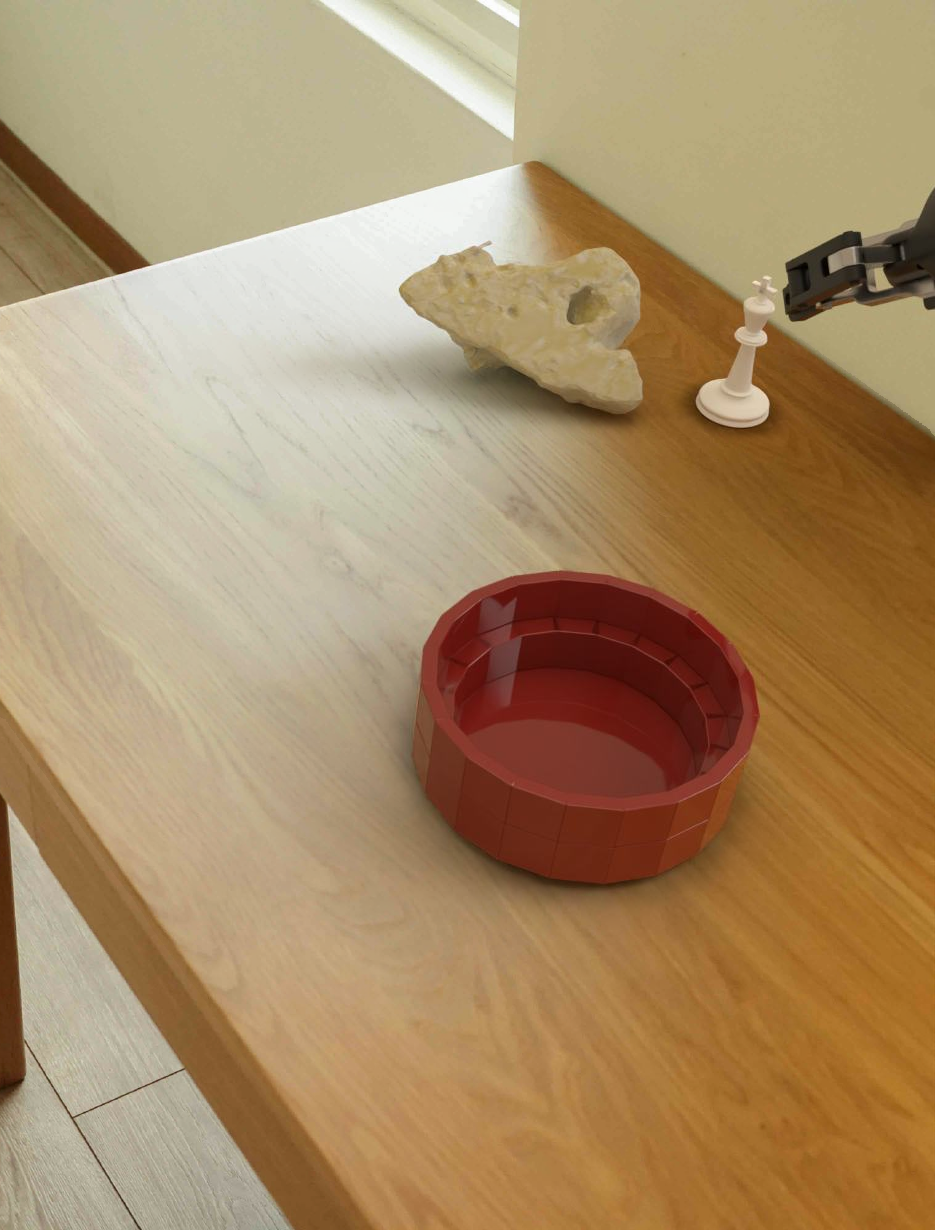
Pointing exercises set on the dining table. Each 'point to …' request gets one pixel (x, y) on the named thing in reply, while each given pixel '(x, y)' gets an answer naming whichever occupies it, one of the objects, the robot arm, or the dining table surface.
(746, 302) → the chess piece
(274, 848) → the dining table surface
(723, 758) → the bowl
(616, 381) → the beige rock
